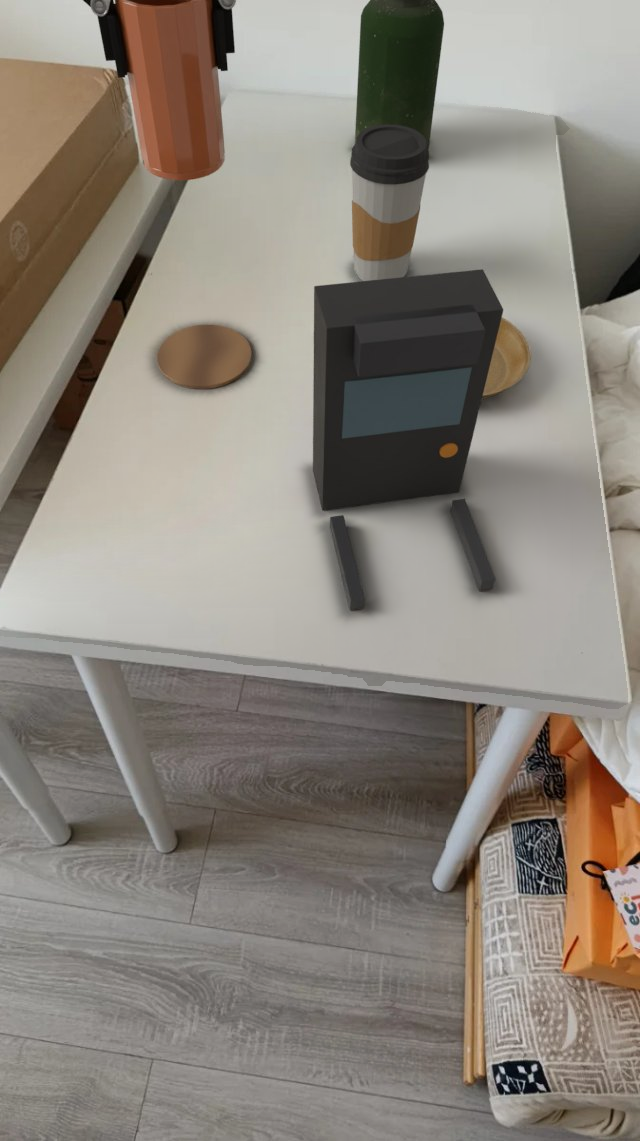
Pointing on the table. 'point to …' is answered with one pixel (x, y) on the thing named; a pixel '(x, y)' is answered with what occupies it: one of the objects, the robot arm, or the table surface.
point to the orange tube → (174, 85)
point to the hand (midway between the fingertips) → (171, 64)
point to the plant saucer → (507, 360)
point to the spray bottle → (398, 64)
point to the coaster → (204, 356)
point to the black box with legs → (400, 398)
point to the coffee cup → (386, 198)
